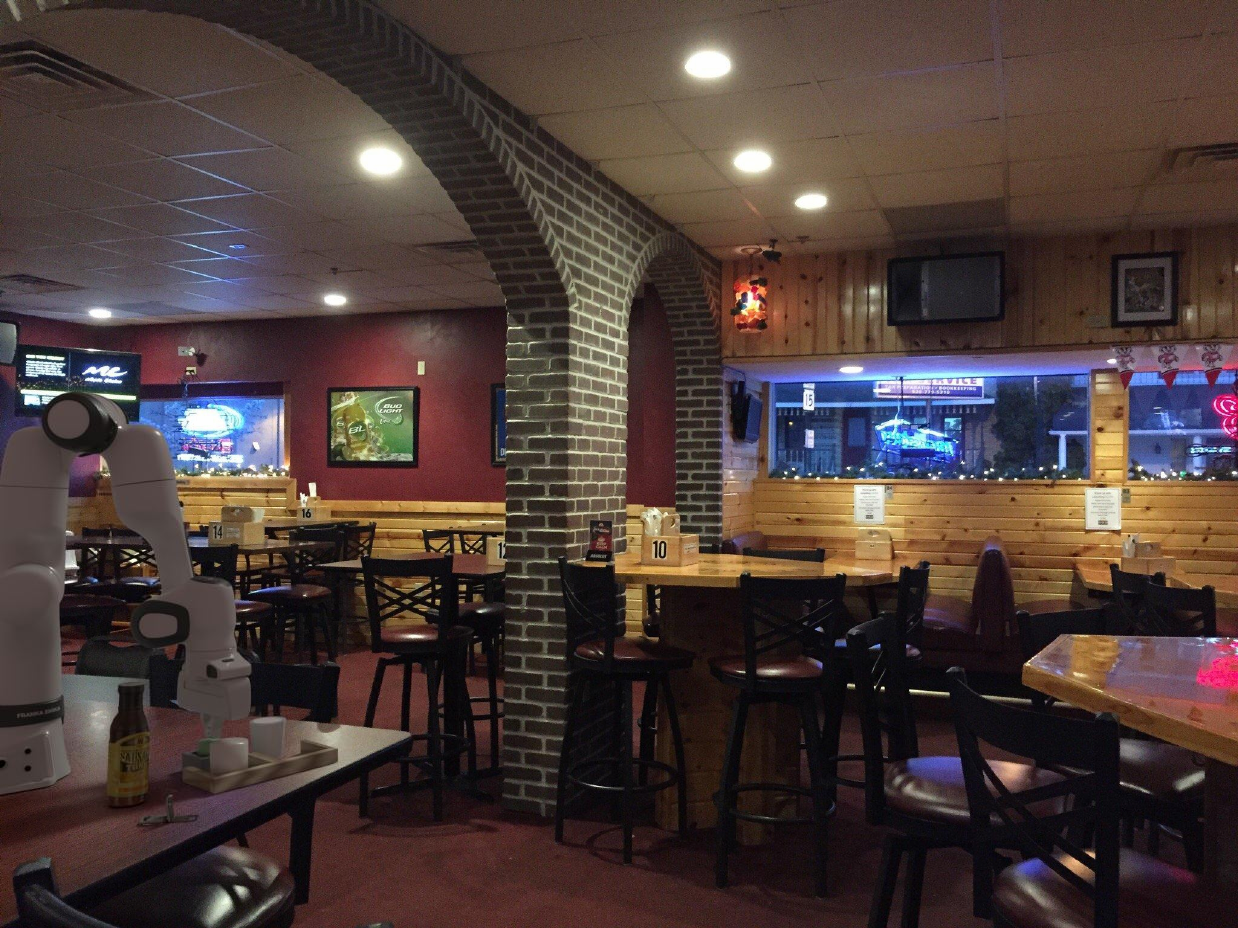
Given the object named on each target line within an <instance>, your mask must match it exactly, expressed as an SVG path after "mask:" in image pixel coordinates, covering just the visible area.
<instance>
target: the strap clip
mask: <svg viewBox="0 0 1238 928" xmlns="http://www.w3.org/2000/svg"><path fill="white" fill-rule="evenodd" d="M173 796H174V795H173V794H169V795H168V796H167V797H166V799H165V811H166V813H165V814H150V815H146V816H142V817H141V818H140V820H139V822H138V825H139V824H140V825H143V824H158V825H162V824H161V823H163V824H166V823H165V821H166V820H167V821H166V822H168V823H169V824H170V823H171V822H173V823H171V824H181V822H184V823H192V822H193V821H194V822H197V821H198V819H199V816H200V815H199V814H189V815H188V814H187V815H177V816H176V815H175V812H174V810H175V809H174V803H173ZM191 817H195V819H191ZM147 819H149V820H147ZM143 820H146V821H143ZM179 822H180V823H179Z"/></svg>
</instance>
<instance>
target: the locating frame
mask: <svg viewBox="0 0 1238 928" xmlns="http://www.w3.org/2000/svg"><path fill="white" fill-rule="evenodd" d="M299 746H300V749H299V750H300V754H302V755H297V756H292V757H288V758H285V759H282V758H281V759H280V758H279V757H278V758H275V757H272V756H268V755H265V754H262V753H259V752H255V751H253V752H252V751H248V768H247V769H243V770H239V771H235V772H231V773H227V774H223V775H219V776H218V775H215V774H212V773H209V772H207V771H204V770H201V769H198V768H195V767H193V766H188V767H184V768H183V770H182V783H185V784H187V785H190V786H193V787H195V788H198V789H201V790H203V791H206V792H209V793H212V794H215V795H216V794H219V793H223V792H227V791H231V790H235V789H239V788H242V787H246V786H251V785H255V784H258V783H261V782H262V783H263V782H266V781H269V780H274V779H277V778H280V777H284V776H288V775H293V774H296V773H297V774H298V773H300V772H304V771H307V770H311V769H316V768H318V767H319V768H320V767H322V766H323V767H324V766H326V765H330V764H334V763H338V762H339V748H338V747H333V746H331V745H327V744H323V743H320V742H316V741H312V740H309V739H306V738H304V739H301V740H300V745H299Z"/></svg>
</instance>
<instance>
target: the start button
mask: <svg viewBox="0 0 1238 928" xmlns="http://www.w3.org/2000/svg"><path fill="white" fill-rule="evenodd" d="M219 739H222V738H221V737H220V738H217V739H212V738H209V737H206V738H203V739H202V738H201V739H199V740H198V741H196V750H197V755H198V756H201V757H208V756H210V743H211V742H213V741H215V740H219Z"/></svg>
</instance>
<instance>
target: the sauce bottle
mask: <svg viewBox="0 0 1238 928" xmlns="http://www.w3.org/2000/svg"><path fill="white" fill-rule="evenodd" d="M145 690H146V689H145V682H143V681H129V682H128V681H127V682H121V683H118V685H117V693H118V706H117V713H116V714H115V716H114V717H113V719H112V722H111V723H110V725H109V740H108V749H107V750H108V752H107V753H108V755H107V772H106V773H107V776H106V795H107V796H106V797H107V798H106V803H107V805H108V806H110V807H114V808H123V807H124V808H125V806H126V807H133V806H137V805H140V804H141V802H142V803H143V801H144V802H146V800H147V793H148V790H149V770H150V769H149V768H150V767H149V766H150V765H149V763H150V740H151V738H150V737H151V736H150V735H151V733H150V728H149V722H148V719H147V717H146V714H145V711H144V704H143V703H144V692H145ZM136 804H137V805H136Z"/></svg>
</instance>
